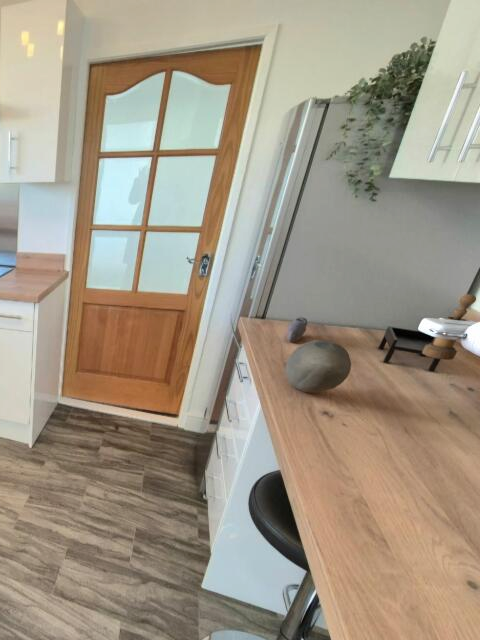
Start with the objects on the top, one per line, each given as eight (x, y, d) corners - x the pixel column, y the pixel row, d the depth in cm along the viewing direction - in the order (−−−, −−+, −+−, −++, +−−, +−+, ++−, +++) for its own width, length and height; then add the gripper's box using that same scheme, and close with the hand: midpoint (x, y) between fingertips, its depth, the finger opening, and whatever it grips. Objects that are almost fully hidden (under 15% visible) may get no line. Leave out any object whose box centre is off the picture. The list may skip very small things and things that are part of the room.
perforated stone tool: (296, 346, 153) (303, 327, 150) (279, 342, 156) (285, 324, 153) (305, 335, 162) (311, 318, 159) (288, 332, 165) (294, 315, 162)
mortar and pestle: (423, 349, 128) (454, 290, 120) (454, 356, 123) (488, 294, 115) (420, 355, 124) (451, 294, 116) (451, 362, 120) (487, 299, 111)
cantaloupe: (267, 386, 124) (284, 338, 118) (294, 377, 130) (313, 330, 123) (321, 408, 113) (343, 356, 106) (348, 396, 119) (372, 347, 112)
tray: (424, 355, 145) (436, 333, 142) (433, 371, 134) (446, 348, 130) (378, 347, 152) (388, 326, 148) (383, 362, 140) (394, 339, 137)
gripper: (431, 345, 112) (402, 328, 124) (533, 354, 107) (493, 336, 119) (443, 322, 110) (412, 307, 121) (549, 331, 104) (505, 314, 116)
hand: (453, 321), depth 120 cm, fingers closed on mortar and pestle, 4 cm apart
